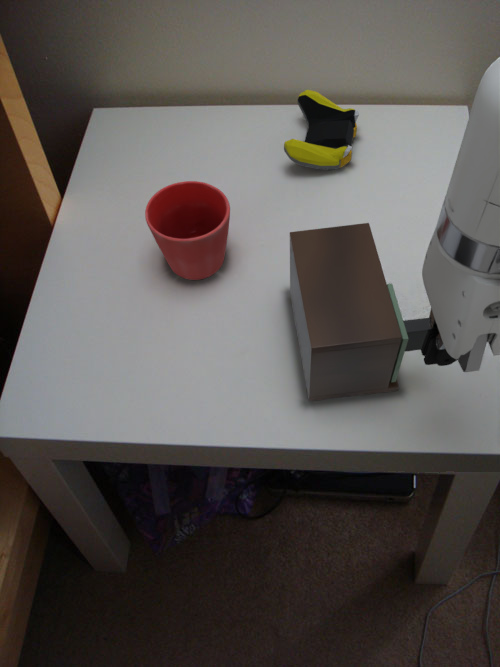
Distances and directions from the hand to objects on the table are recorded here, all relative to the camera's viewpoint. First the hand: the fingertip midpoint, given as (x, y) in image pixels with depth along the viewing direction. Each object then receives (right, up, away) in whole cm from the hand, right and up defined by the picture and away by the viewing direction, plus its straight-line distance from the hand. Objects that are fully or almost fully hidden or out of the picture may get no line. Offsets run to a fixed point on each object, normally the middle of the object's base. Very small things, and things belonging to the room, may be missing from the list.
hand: (438, 356), depth 59 cm
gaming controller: (-7, +32, +36) cm, 49 cm away
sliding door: (0, 0, +13) cm, 13 cm away
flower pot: (-26, +13, +25) cm, 38 cm away
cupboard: (-7, +1, +16) cm, 18 cm away
